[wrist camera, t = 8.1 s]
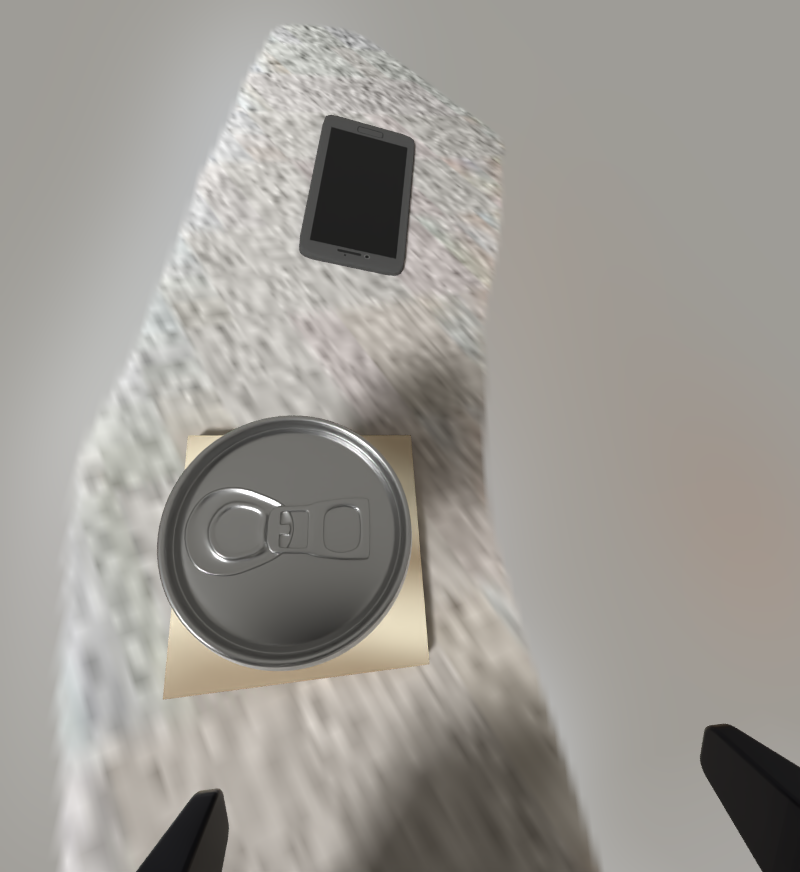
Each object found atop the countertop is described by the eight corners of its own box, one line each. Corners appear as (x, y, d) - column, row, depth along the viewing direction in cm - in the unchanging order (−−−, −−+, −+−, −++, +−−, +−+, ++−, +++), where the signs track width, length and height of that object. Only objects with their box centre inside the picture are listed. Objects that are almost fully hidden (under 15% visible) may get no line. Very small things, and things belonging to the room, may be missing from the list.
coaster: (424, 659, 21) (429, 664, 20) (170, 692, 18) (162, 699, 17) (407, 440, 24) (410, 435, 23) (193, 441, 22) (188, 435, 21)
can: (240, 487, 21) (158, 392, 9) (365, 487, 22) (422, 404, 11) (228, 625, 19) (105, 709, 7) (366, 616, 20) (437, 677, 9)
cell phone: (413, 145, 33) (415, 136, 32) (401, 281, 29) (403, 274, 28) (324, 121, 32) (325, 110, 31) (296, 259, 27) (296, 251, 27)
